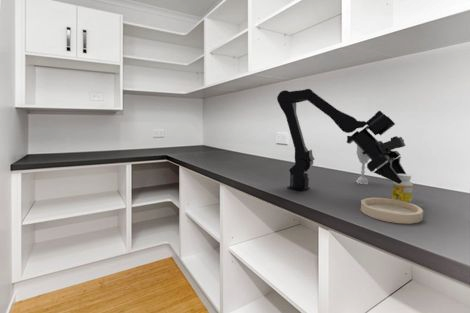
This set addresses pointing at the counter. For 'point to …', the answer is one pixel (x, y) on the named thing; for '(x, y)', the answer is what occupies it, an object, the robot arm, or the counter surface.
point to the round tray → (391, 210)
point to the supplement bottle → (403, 189)
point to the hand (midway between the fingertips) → (403, 180)
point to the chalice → (363, 160)
